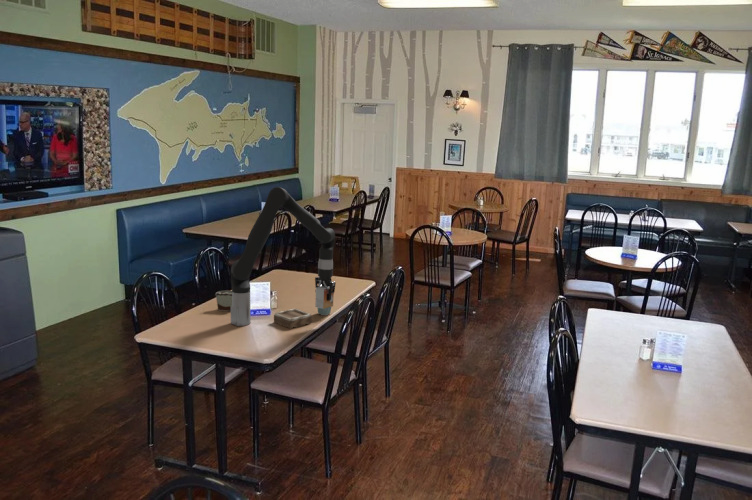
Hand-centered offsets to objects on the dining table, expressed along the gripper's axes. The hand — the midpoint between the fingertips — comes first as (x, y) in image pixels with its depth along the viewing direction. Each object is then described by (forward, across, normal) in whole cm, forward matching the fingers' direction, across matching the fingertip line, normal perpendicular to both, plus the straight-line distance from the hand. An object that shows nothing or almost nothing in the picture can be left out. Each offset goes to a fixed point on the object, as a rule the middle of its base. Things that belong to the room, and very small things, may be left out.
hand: (324, 298), depth 332 cm
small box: (+4, 0, 0) cm, 4 cm away
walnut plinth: (+15, -14, -10) cm, 22 cm away
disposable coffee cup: (+15, -16, +14) cm, 26 cm away
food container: (+15, -56, -23) cm, 62 cm away
